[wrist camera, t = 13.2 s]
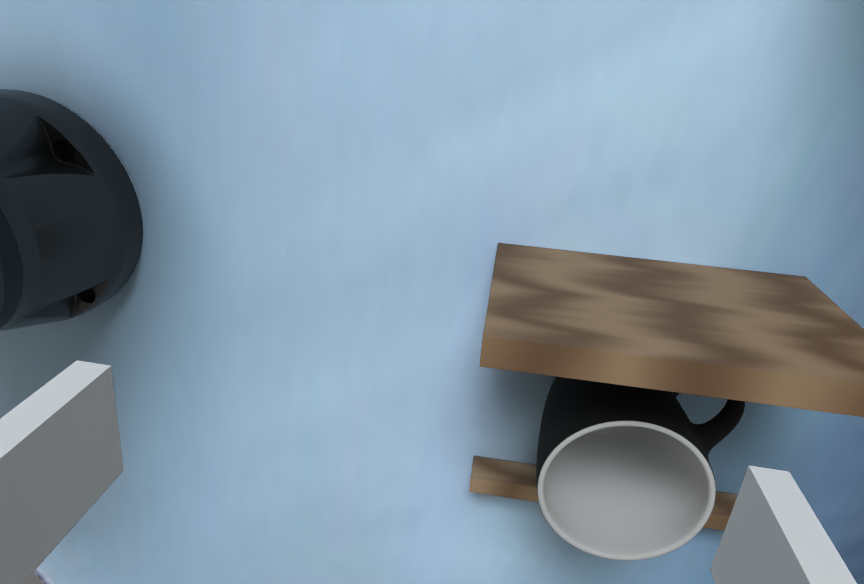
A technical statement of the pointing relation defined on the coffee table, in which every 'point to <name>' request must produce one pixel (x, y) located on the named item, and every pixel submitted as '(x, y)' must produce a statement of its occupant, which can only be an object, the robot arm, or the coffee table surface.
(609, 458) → the mug
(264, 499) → the coffee table surface
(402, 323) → the coffee table surface
